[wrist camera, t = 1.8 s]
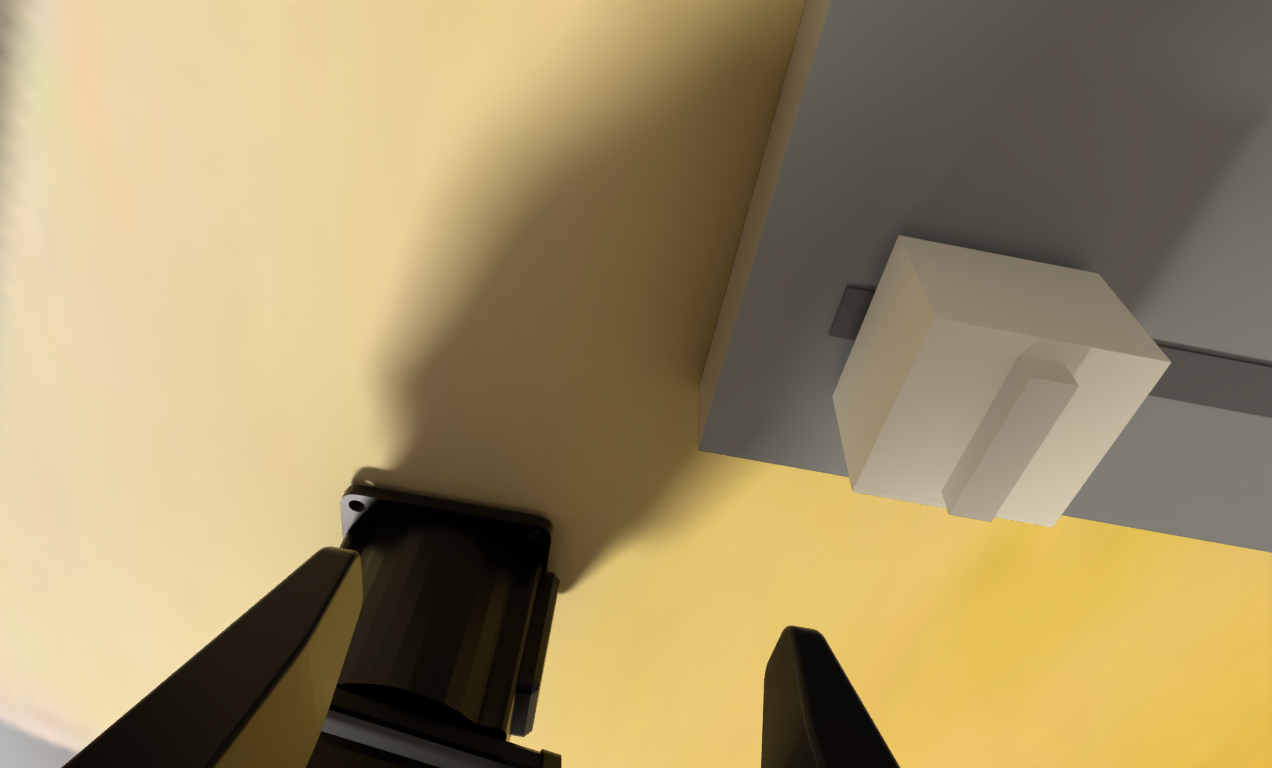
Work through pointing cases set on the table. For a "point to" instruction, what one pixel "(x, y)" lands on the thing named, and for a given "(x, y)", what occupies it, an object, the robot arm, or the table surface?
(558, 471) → the table surface
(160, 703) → the robot arm
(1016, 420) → the tab
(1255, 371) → the switch panel
